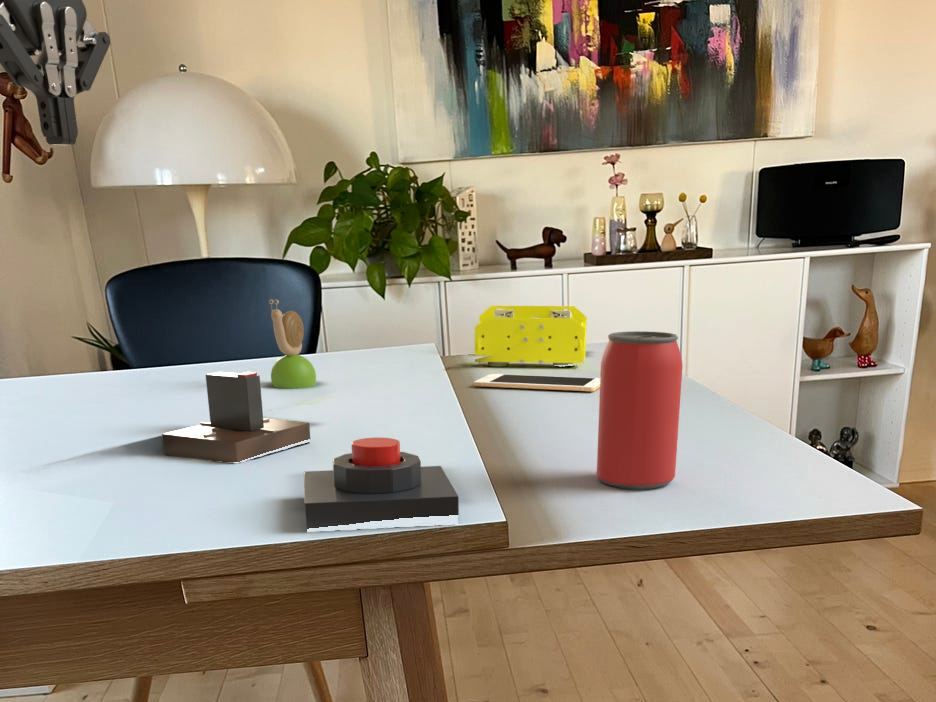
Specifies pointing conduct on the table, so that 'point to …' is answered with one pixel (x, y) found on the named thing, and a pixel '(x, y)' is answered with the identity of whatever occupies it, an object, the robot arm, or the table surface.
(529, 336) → the yellow toy chassis
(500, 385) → the cell phone
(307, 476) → the button block
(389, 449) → the button
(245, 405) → the dark grey rectangular block
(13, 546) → the table surface
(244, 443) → the dial panel
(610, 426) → the beer can
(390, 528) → the table surface
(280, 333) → the snail figurine
